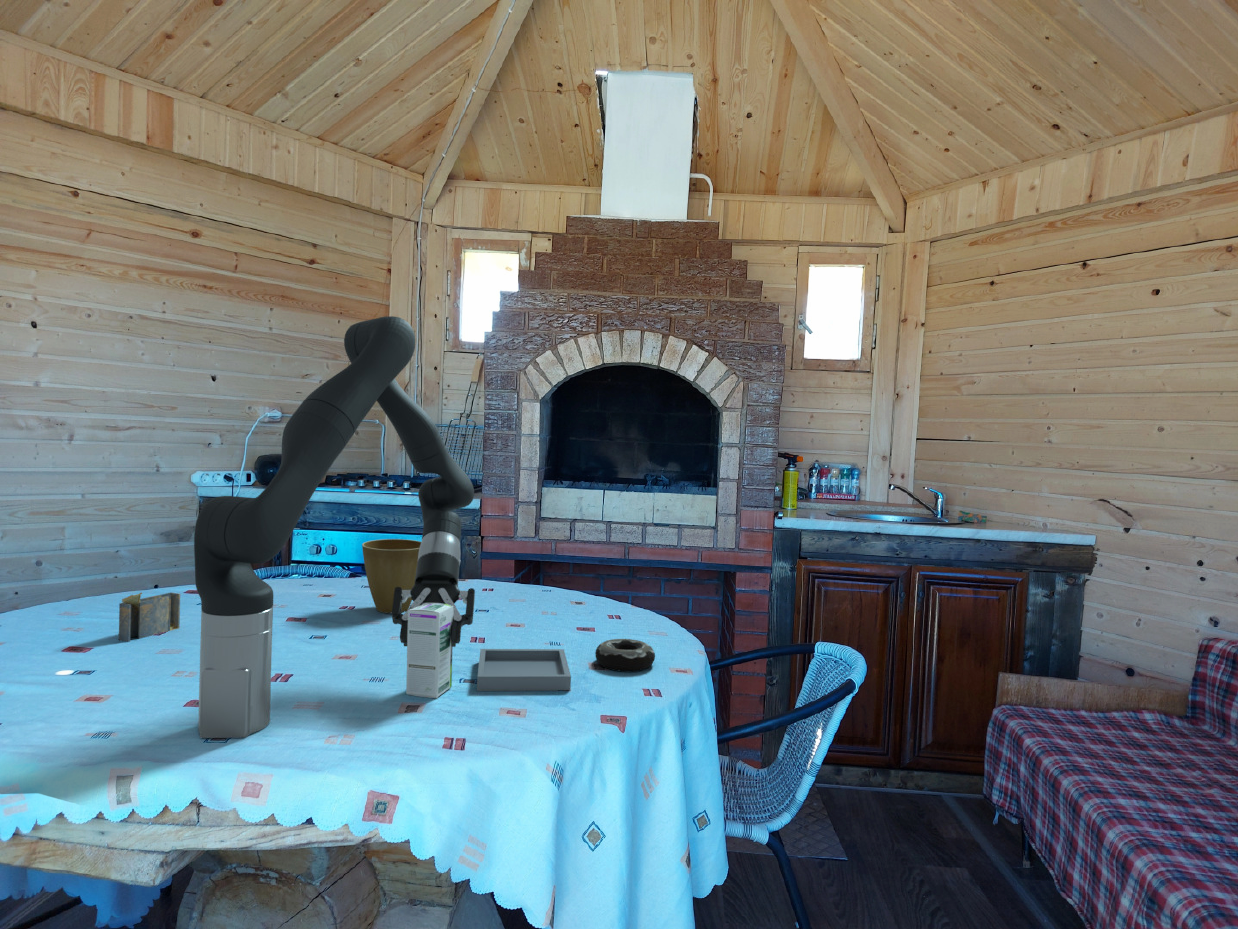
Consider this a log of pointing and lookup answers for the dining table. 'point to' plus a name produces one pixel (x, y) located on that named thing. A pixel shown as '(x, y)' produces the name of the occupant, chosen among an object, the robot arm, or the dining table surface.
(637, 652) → the donut
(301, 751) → the dining table surface
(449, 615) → the syrup box
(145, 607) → the weathered flanged block
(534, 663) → the tray
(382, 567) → the plant pot
